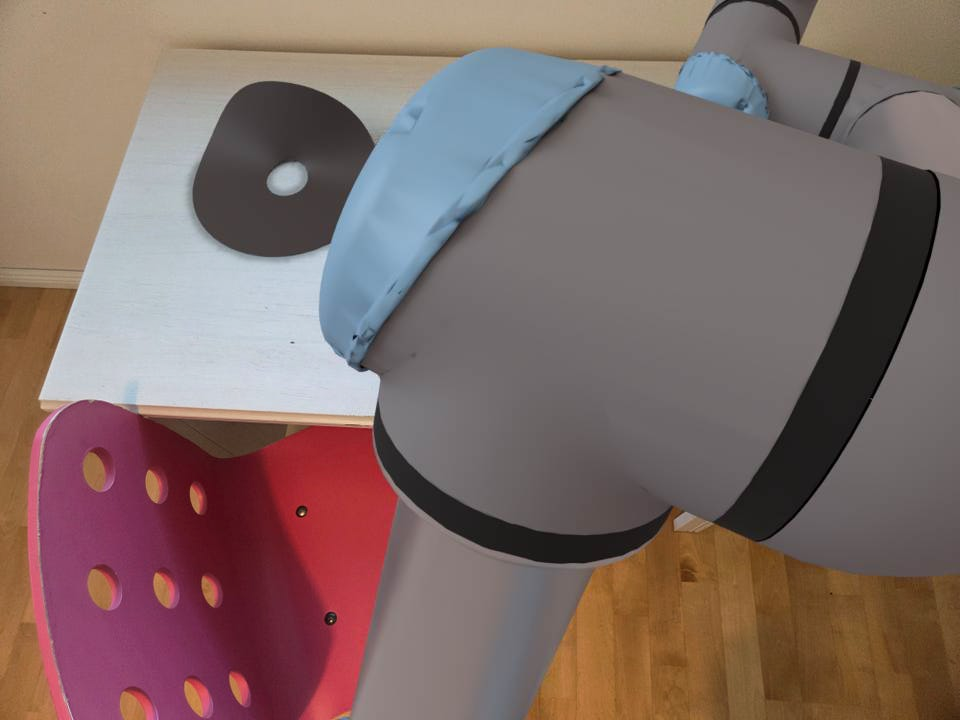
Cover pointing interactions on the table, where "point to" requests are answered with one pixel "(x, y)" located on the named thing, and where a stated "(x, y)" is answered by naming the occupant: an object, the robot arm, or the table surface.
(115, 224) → the table surface
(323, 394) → the table surface
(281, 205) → the dark holed disc
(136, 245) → the table surface
